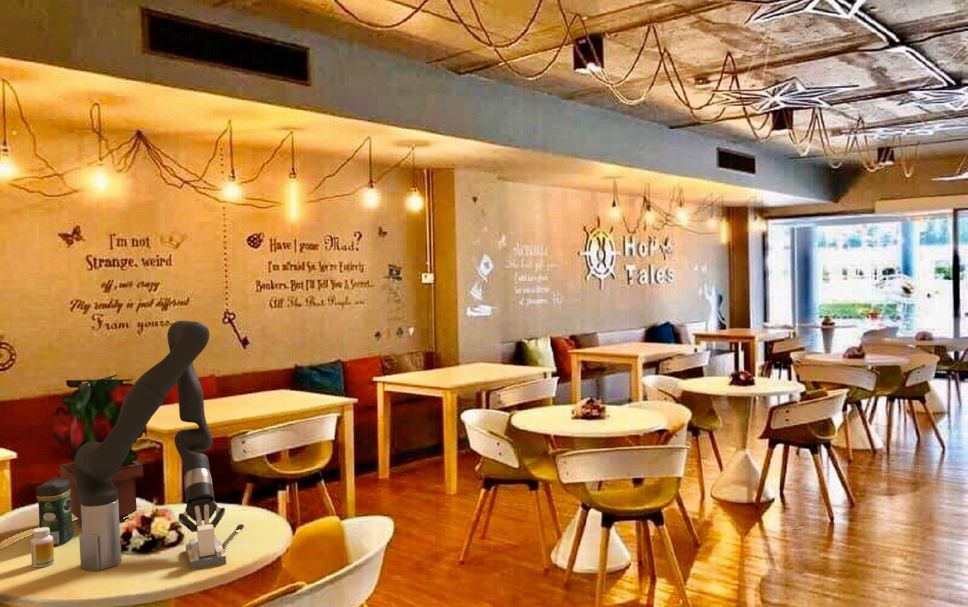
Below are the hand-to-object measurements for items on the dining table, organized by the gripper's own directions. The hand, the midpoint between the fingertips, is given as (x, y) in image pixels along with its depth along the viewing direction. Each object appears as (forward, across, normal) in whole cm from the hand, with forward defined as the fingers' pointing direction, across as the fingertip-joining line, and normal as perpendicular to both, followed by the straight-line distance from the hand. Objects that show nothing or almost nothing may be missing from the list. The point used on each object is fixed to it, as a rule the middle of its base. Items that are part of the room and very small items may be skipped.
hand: (205, 542), depth 223 cm
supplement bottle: (-9, -41, +15) cm, 44 cm away
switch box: (+2, 0, +4) cm, 5 cm away
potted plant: (-35, -26, +41) cm, 60 cm away
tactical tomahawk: (-6, +9, +13) cm, 17 cm away
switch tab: (+3, 0, 0) cm, 3 cm away
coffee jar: (-22, -38, +29) cm, 53 cm away
